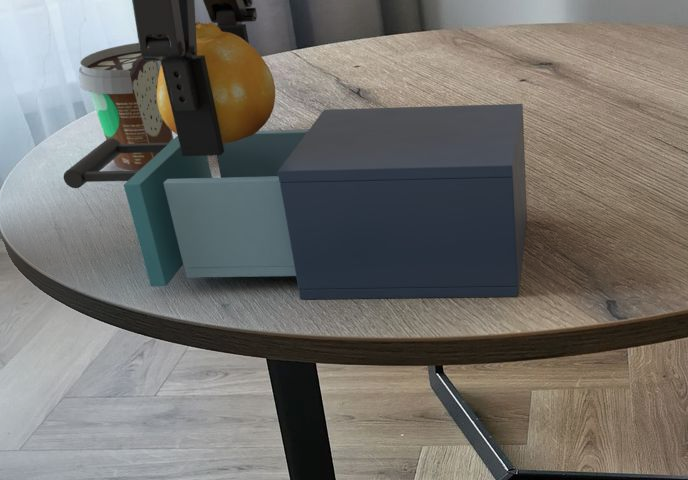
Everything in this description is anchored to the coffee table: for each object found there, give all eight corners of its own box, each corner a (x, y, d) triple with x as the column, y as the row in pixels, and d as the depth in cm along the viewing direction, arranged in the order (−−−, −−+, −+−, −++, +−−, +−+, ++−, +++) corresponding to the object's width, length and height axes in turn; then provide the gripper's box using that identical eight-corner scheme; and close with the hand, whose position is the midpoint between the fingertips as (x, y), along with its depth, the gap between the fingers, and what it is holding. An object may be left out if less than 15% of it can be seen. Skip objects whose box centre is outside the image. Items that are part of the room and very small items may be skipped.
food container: (117, 140, 102) (92, 44, 97) (176, 135, 103) (154, 39, 98) (87, 181, 92) (57, 76, 87) (153, 175, 92) (127, 71, 87)
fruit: (158, 92, 72) (142, 6, 65) (268, 86, 74) (264, 2, 67) (168, 176, 68) (153, 94, 61) (284, 167, 70) (282, 87, 64)
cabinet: (300, 299, 68) (277, 171, 63) (340, 222, 80) (323, 109, 75) (518, 296, 67) (512, 165, 62) (527, 219, 79) (522, 103, 74)
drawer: (74, 287, 70) (42, 184, 66) (141, 219, 80) (116, 127, 76) (347, 283, 68) (331, 177, 64) (378, 214, 79) (366, 119, 75)
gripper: (141, -240, 48) (229, 185, 60) (259, -236, 66) (309, 89, 78) (-1, -231, 49) (114, 187, 61) (155, -230, 67) (220, 92, 79)
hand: (224, 132), depth 69 cm, fingers closed on fruit, 8 cm apart
